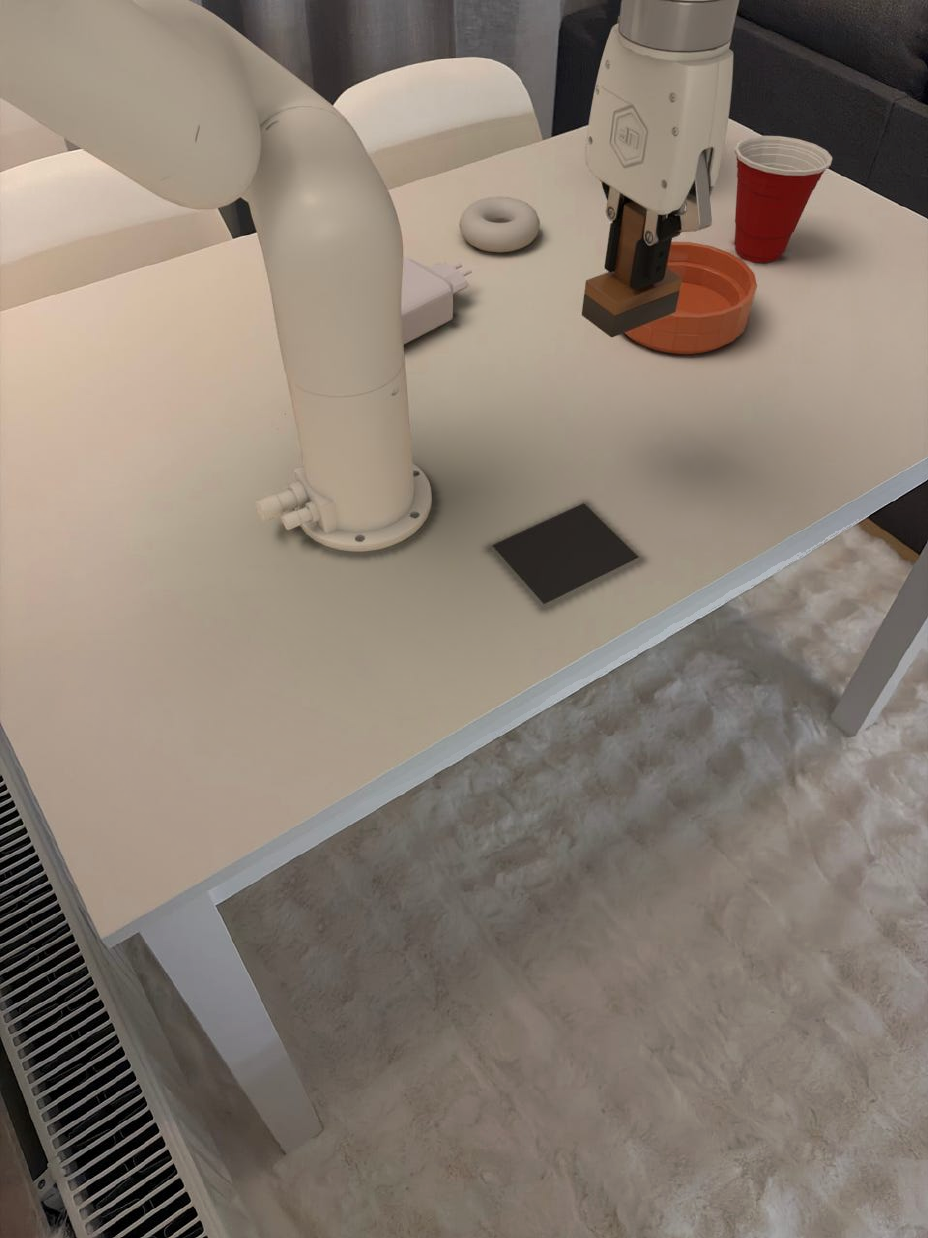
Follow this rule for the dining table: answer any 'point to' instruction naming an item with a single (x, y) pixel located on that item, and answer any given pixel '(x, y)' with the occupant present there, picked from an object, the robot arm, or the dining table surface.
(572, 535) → the mat
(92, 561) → the dining table surface
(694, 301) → the bowl
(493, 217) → the donut
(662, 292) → the brush
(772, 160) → the plastic cup
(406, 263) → the charger
